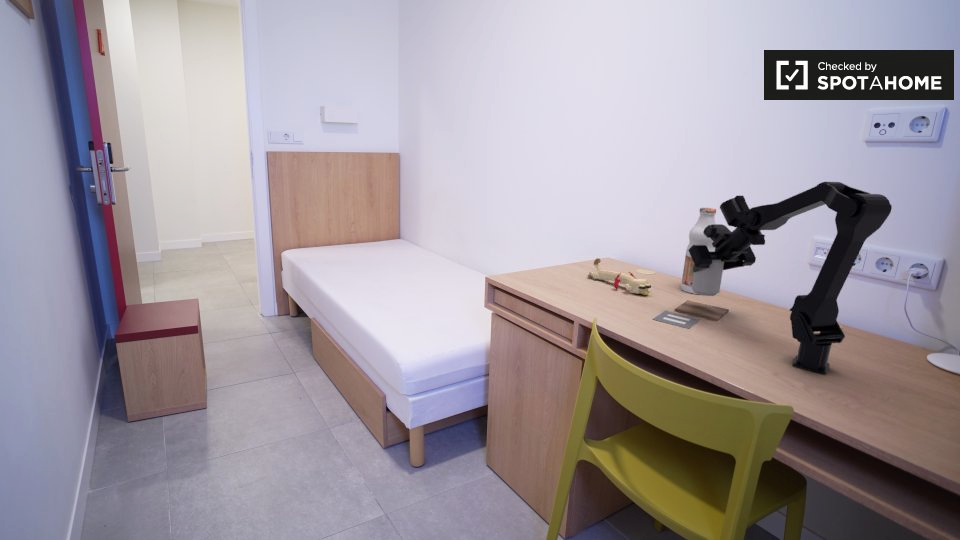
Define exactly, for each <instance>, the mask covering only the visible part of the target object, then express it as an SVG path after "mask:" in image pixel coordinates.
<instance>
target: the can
mask: <svg viewBox="0 0 960 540" xmlns="http://www.w3.org/2000/svg"><path fill="white" fill-rule="evenodd" d="M723 266H724V262H722V261H721V260H715V261H712V264H711V265H710V268H707V269H704V270H701V271H698V272H694V276H693V283H692V290H693V291H694V292H695V293H697V294H696V295H700V296H707V297H713V296H716V295H718V294H720V292H721V285H722V278H723V272H724V270H723Z"/></svg>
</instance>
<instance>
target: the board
mask: <svg viewBox="0 0 960 540" xmlns="http://www.w3.org/2000/svg"><path fill="white" fill-rule="evenodd" d="M673 311H674V312H675V313H679V314H684V315H685V314H686V315H689V316H692V317H696V318H697V317H698V318H700V319H701V318H702V319H706V320H710V321H714V322H719V321H720V320H721V319H722V318H723V317H724V316H725V315H726V314H728V312H729V309H728V308H724V307H719V306H715V305H711V304H707V303H702V302H697V301H693V300H686V301H684V302H683V303H681V304H680V305H679V306H677V307H675V308H674V310H673Z"/></svg>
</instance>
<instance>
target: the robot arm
mask: <svg viewBox="0 0 960 540" xmlns="http://www.w3.org/2000/svg"><path fill="white" fill-rule="evenodd" d="M822 206H827V208H828V209H829V210H832V211H834V212H836V213H835V219H834V222H835V226H836V235H835V238H834V240H833V241H832V244H831V246H830V249H829V250H828V253H827V255H826V257H825V260H824V262H823V264H822V265H821V269H820V270H819V272H818V275H817V277H816V280H815V281H814V283H813V285H812V288H811V290H810V292H809V293H808V294H799V295H797V296H796V297H795V298H794V301H793V304H792V306H791V308H790V309H789V311H790V316H789V320H790V322H791V323H790V324H791V333H792V338H793V339H795V340H796V341H797V342H799V346H798V351H797V354H796V356H795V357H794V359H793V362H792V364H791V365H792V366H793V367H796V368H800V369H804V370H808V371H811V372H816V373H820V374H824V375H827V374H828V370H829V368H830V362H828V360H829V358H830V353H831V350H832V349H831V348H832V344H841V343H842V342H843V341H844V339H845V337H846V335H845V333H844V330H843V329H842V328H841V326H840V324H839V322H838V321H837V319H838V316H839V305H838V297H839V295H840V293H841V291H842V289H843V286H844V285H845V282H846V280H847V279H848V276H849V274H850V272H851V271H852V268H853V267H854V264H855V262H856V261H857V258H858V256H859V254H860V251H861V250H862V248H863V245H864V243H865V242H866V240H867V239H868V238H870V237H871V236H872V235H873V234H874V233H876V232H877V231H878V230H879V229H881V227H882V226H883V225H884V223H885V222H886V220H887V219H888V217H889V216H890V214H891V212H892V207H893V205H892V204H891V202H890V200H889V199H888V198H887V196H885V195H884V194H879V193H870V192H867V191H865V190H862V189H857V188H855V187H851V186H849V185H848V184H845V183H842V182H840V181H822V182H820V183H818V184H816V185H815V186H814V187H811V188H808V189H807V190H804V191H802V192H799V193H797V194H794V195H793V196H791V197H788V198H786V199H783V200H781V201H778V202H776V203H771V204H765V205H763V204H762V205H758V206H754V207H751V208H750V207H749V205H748V204H747V202H746V197H745V196H744V195H735V196H734V197H733V198H732V197H731V198H729V199H728V200H726V201H723V202H722V203H721V204H720V206H719V210H720V211H721V213H722V215H723V218H724V219H725V221H726V224H727V226H726V225H724V224H716V223H715V224H712V225H708V226H707V227H706V228H705V229H704V231H703V233H704V235H705V236H706V237H707V238H711V239H712V240H713V241H714V242H713V243H712V245H713V247H715V252H709V250H708V248H707V246H706V245H692V246H691V247H690V248H689V253H690V255H691V257H692V260H693V262H694V267H693V272H698V271H701V270H704V269H707V268H710V265H711V264H712V261H715V260H721V261H722V262H724V266H723V271H727V270H731V269H732V270H733V269H737V268H742V267H743V268H744V267H746V266H747V267H748V266H749V267H751V266H752V265H754V264H755V263H756V259H757V257H756V256H755V253H754V251H753V249H752V247H751V246H764V245H766V240H765V236H766V235H765V234H763V233H762V232H761V231H774V230H777V229H779V228H781V227H782V226H784V225H785V224H786V223H788V221H789V220H790V219H792V218H794V217H796V216H799V215H801V214H803V213H806V212H809V211H811V210H815V209H817V208H819V207H822ZM728 226H729V227H734V229H733V230H732V231H731V230H730V228H728ZM816 332H817V333H816Z"/></svg>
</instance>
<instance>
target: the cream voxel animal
mask: <svg viewBox="0 0 960 540" xmlns="http://www.w3.org/2000/svg"><path fill="white" fill-rule="evenodd" d="M600 263H601V258H598V257H597V258H596V259H594V261H593V266H594V267H595V268H596V271H595V273H594V272H593V271H589V272H588V274H587V278H588V279H589V278H592V279H593V280H600V281H607V282H608V281H609V282H610V281H611V282H613V284H612V285H613V287H614V289H615V290H617V289H618V288H619V286H620V285H624V287H626V290H627V291H628V293H630V294H637V295H638V294H641V295H643V296H648V295H649V293H652V290H649V289H651V288H652V284H649V282H650V281H648V279H644V278H637V277H635V275H634V274H633V273H632V272H630V271H628V274H629V275H628V274H626V273H622V272H618V271H613V270H604V269H602V268H601V267H600V265H599V264H600ZM619 284H620V285H619Z"/></svg>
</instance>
